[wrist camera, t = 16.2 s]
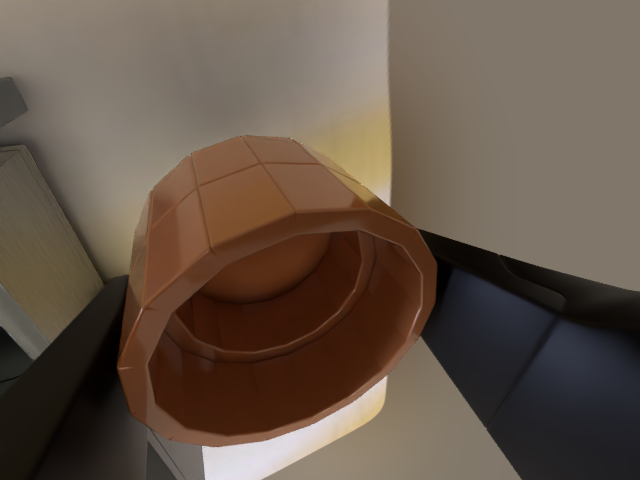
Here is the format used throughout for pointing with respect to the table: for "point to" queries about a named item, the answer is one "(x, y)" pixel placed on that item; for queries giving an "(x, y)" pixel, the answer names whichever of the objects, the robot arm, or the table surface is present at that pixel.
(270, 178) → the flower pot
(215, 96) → the table surface
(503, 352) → the robot arm
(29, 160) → the drawer
